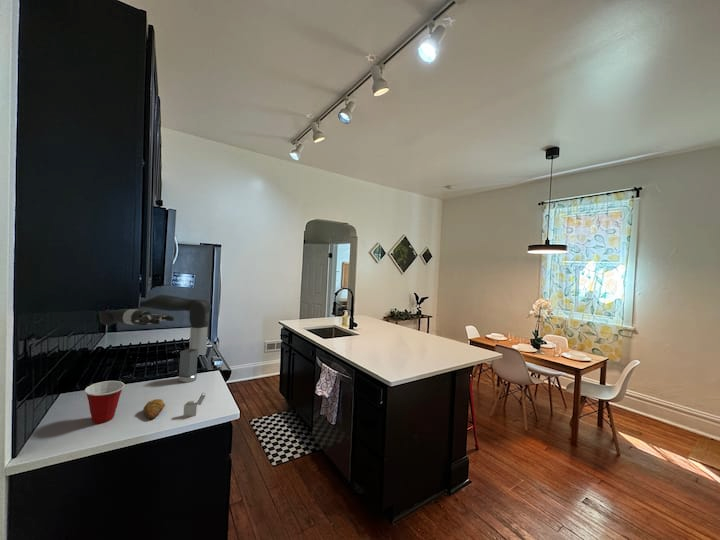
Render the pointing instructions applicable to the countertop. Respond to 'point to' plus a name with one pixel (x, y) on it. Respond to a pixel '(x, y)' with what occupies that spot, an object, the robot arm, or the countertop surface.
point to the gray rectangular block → (188, 362)
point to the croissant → (153, 408)
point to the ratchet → (187, 379)
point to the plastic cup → (103, 400)
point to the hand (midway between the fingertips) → (166, 320)
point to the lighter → (192, 406)
